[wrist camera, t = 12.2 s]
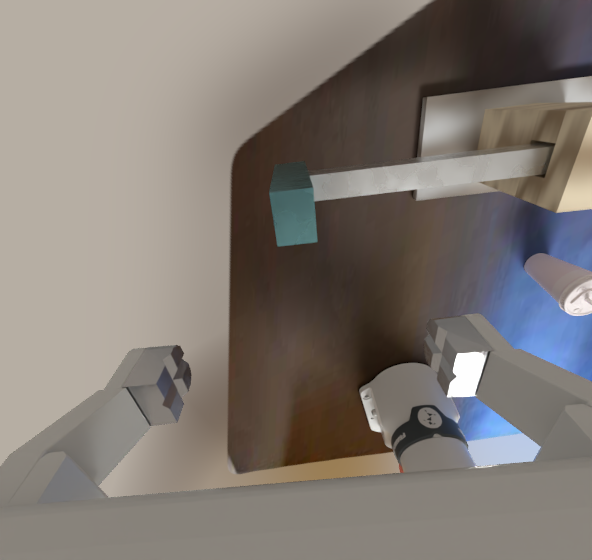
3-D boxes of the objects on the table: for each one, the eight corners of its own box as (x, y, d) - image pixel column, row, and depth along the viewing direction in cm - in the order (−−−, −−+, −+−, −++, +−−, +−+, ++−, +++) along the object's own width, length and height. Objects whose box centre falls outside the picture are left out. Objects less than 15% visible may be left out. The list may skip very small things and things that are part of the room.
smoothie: (515, 253, 45) (597, 306, 33) (559, 239, 44) (661, 288, 32) (514, 285, 48) (589, 344, 36) (555, 273, 47) (647, 329, 35)
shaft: (536, 174, 30) (650, 204, 21) (280, 204, 31) (277, 246, 22) (549, 131, 28) (683, 143, 19) (274, 164, 29) (269, 192, 19)
